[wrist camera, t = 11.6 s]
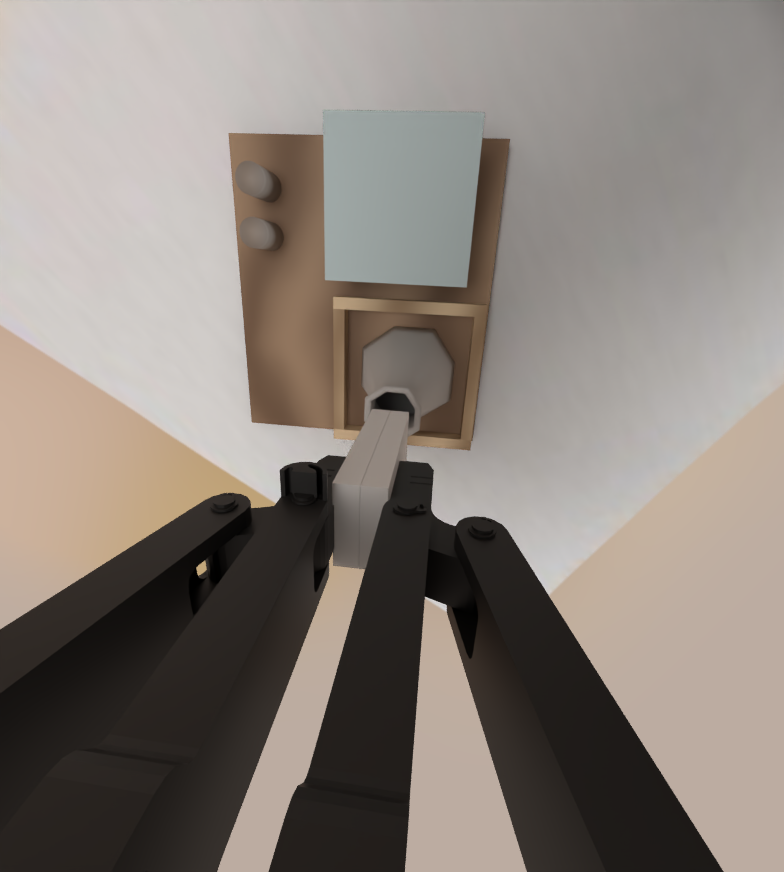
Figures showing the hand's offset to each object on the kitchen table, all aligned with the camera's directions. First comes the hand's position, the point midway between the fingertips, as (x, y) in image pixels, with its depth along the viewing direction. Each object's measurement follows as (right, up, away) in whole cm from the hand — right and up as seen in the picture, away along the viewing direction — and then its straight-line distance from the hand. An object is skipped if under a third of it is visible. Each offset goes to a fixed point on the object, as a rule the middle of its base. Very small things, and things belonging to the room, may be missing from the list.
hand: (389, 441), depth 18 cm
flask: (+1, +5, +14) cm, 15 cm away
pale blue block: (+1, +15, +10) cm, 18 cm away
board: (-2, +10, +14) cm, 17 cm away
